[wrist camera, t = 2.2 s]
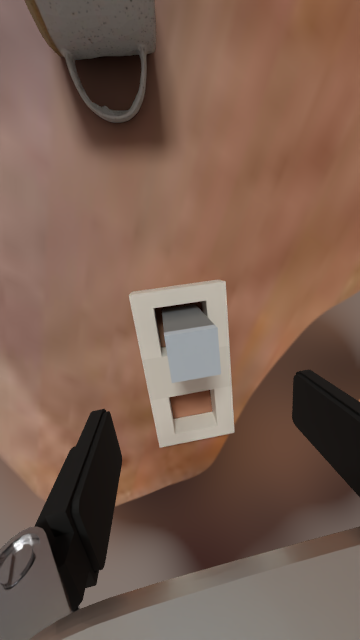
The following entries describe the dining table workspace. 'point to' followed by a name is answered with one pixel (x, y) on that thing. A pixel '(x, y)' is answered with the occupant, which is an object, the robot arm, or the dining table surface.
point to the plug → (190, 343)
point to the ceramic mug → (98, 37)
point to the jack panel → (159, 369)
